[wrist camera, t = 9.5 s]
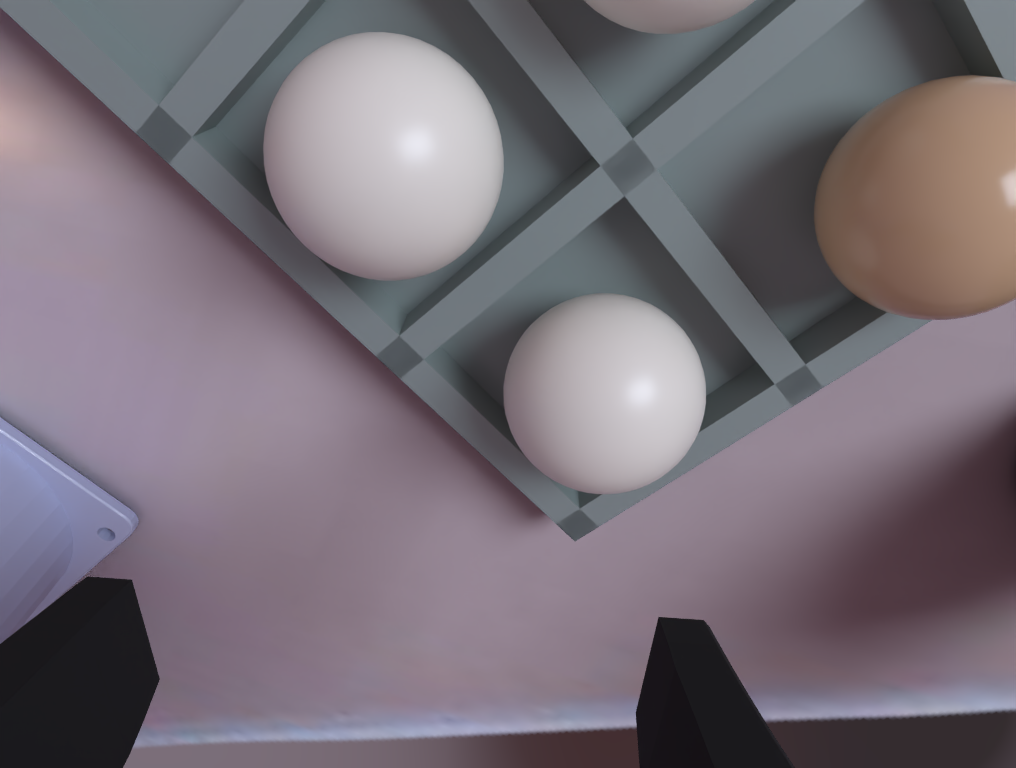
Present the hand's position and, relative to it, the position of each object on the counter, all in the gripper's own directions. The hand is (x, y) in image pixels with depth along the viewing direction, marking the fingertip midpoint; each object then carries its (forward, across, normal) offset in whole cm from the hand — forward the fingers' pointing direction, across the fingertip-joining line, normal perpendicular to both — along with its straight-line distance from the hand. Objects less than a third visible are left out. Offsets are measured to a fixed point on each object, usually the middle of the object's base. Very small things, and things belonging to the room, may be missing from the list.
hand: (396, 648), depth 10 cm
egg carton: (+9, -1, -7) cm, 12 cm away
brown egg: (+9, -8, -5) cm, 13 cm away
